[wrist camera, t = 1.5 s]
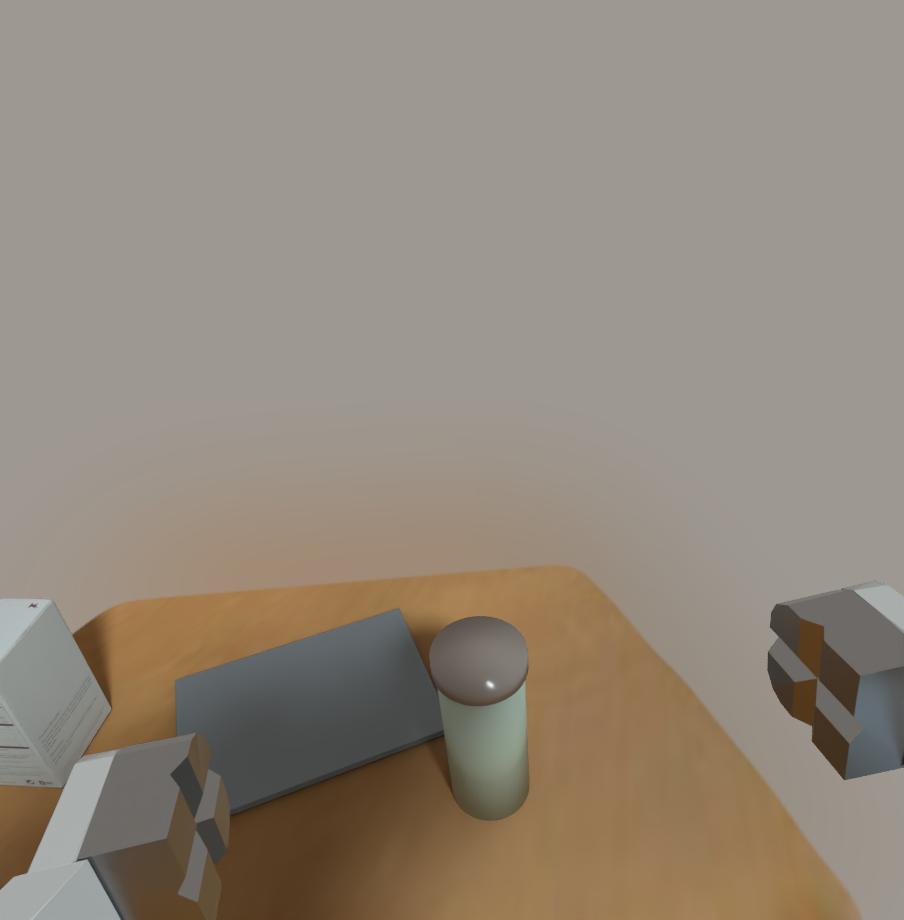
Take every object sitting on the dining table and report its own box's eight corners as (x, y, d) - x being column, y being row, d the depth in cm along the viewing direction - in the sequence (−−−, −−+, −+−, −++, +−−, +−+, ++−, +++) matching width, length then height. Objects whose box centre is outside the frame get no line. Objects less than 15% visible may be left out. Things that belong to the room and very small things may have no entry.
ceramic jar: (466, 838, 45) (448, 706, 38) (436, 762, 50) (416, 634, 43) (547, 803, 46) (545, 671, 39) (511, 734, 51) (503, 605, 44)
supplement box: (35, 705, 58) (-33, 594, 51) (115, 709, 56) (56, 596, 50) (-27, 786, 51) (-114, 671, 45) (62, 792, 50) (-14, 676, 44)
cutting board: (181, 834, 47) (178, 829, 46) (177, 684, 58) (175, 680, 58) (452, 731, 52) (451, 726, 52) (399, 612, 63) (399, 608, 63)
